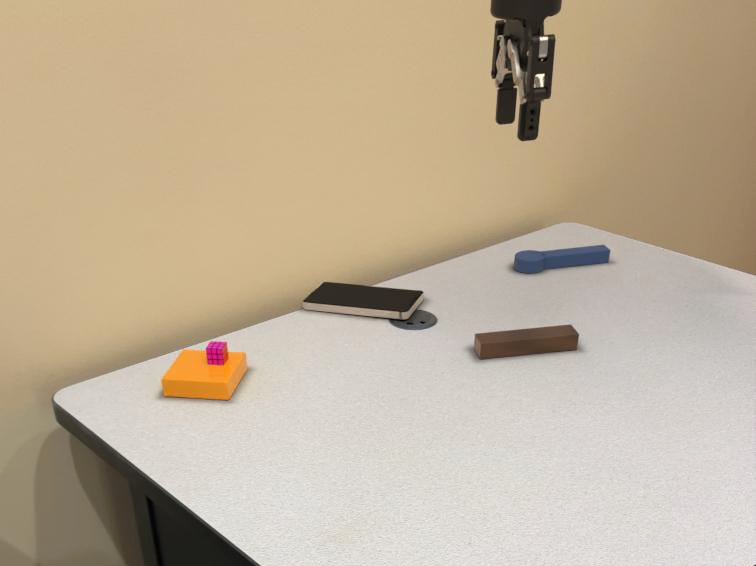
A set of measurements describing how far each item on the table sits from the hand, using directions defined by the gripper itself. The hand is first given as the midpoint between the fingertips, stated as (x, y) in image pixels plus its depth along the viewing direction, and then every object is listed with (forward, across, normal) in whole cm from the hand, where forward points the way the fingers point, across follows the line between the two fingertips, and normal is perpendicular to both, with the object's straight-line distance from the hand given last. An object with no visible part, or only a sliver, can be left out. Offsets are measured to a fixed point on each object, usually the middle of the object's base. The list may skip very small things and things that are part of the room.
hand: (515, 131), depth 104 cm
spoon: (+22, +14, -13) cm, 29 cm away
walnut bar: (+22, -12, +1) cm, 25 cm away
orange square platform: (+21, -12, +40) cm, 47 cm away
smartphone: (+22, +7, +17) cm, 28 cm away
